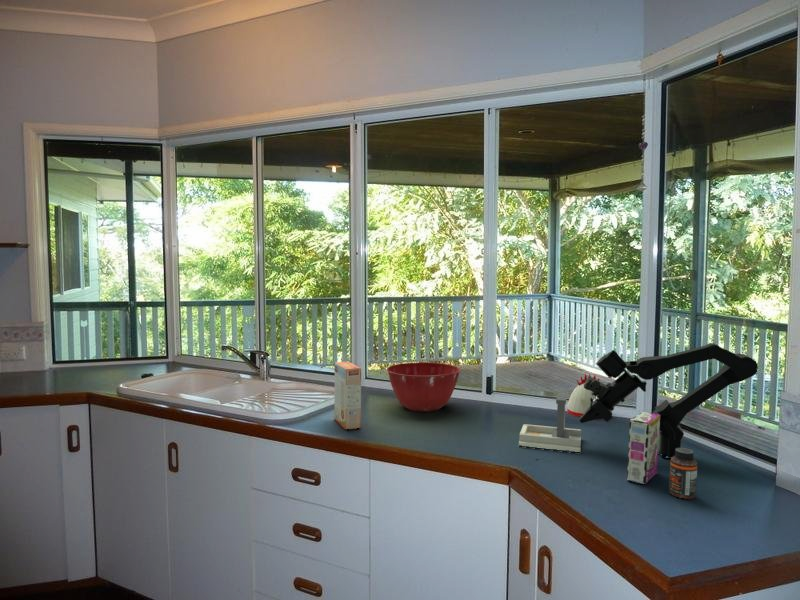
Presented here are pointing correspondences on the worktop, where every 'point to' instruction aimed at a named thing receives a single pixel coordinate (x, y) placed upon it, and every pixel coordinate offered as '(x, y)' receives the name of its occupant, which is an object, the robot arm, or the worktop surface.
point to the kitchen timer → (580, 399)
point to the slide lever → (561, 417)
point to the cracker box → (347, 395)
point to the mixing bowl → (423, 384)
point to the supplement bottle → (683, 474)
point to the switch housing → (549, 438)
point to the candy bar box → (643, 447)
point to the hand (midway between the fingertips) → (580, 421)
